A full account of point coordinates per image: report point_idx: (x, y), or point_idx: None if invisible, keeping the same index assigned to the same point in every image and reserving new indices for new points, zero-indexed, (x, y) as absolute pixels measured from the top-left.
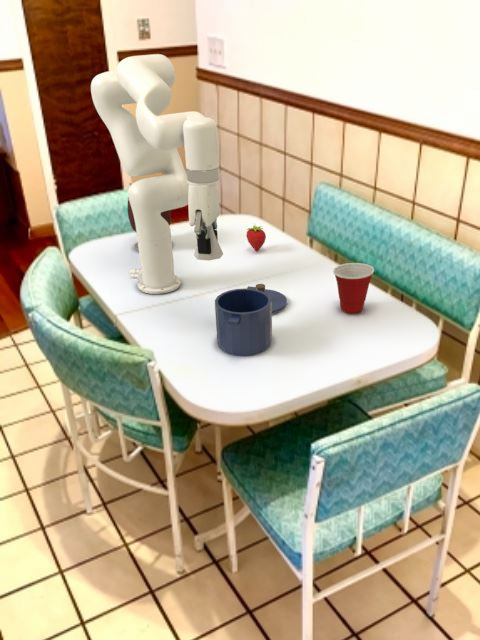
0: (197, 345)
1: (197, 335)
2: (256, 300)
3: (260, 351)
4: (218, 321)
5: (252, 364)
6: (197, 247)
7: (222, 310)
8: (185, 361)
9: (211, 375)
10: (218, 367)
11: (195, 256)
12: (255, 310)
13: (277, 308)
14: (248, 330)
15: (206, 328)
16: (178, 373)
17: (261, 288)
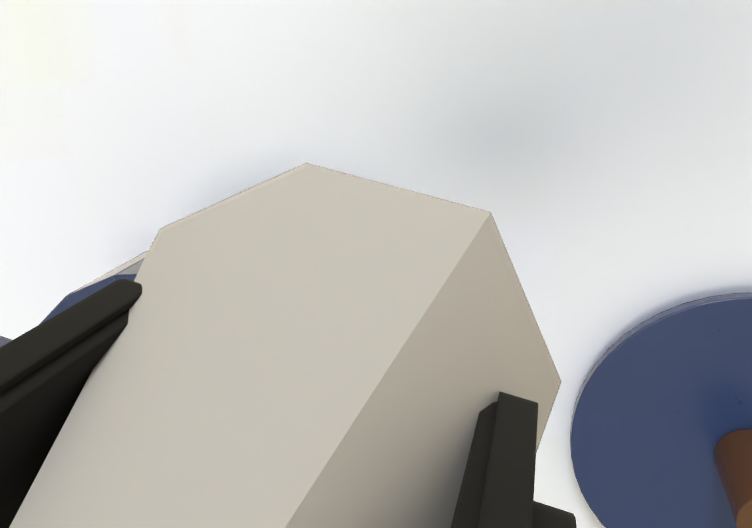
0: (254, 86)
1: (360, 74)
2: None
3: None
4: (133, 258)
5: None
6: (199, 284)
7: (39, 324)
8: (104, 40)
9: (21, 177)
10: (81, 205)
11: (240, 197)
12: None
13: (615, 524)
14: None
15: (443, 121)
16: (7, 20)
17: (736, 521)
